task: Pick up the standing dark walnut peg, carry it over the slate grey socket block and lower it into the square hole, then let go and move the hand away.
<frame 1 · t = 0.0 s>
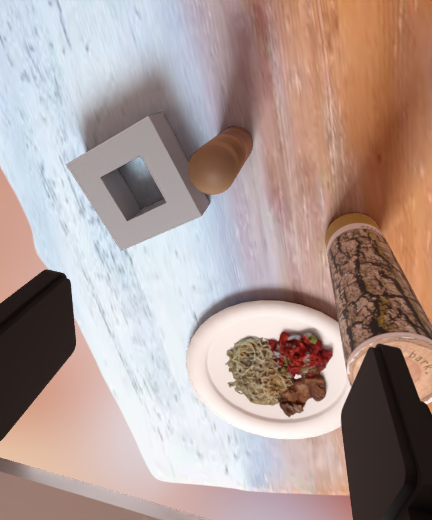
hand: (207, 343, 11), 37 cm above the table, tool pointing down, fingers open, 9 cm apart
plated food: (274, 368, 60), on the table
paper tube: (351, 235, 47), on the table
socket: (147, 179, 49), on the table
peg: (235, 144, 44), on the table
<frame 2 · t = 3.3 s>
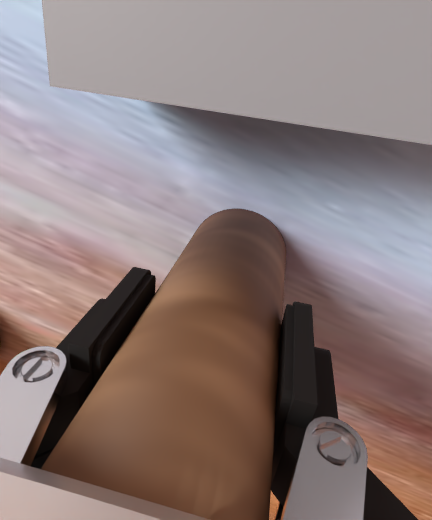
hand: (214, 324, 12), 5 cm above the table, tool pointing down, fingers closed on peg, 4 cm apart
peg: (238, 253, 17), on the table, touching gripper
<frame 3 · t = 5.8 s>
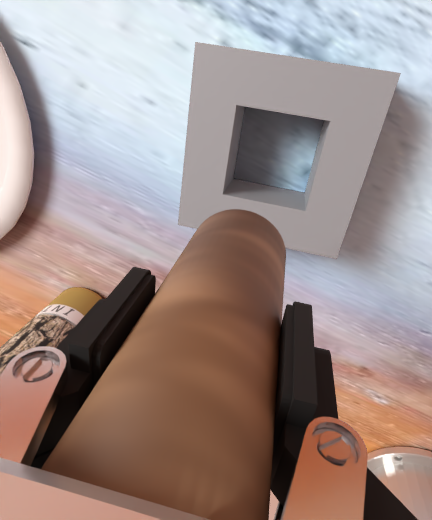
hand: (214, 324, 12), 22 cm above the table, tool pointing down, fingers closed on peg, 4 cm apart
paper tube: (87, 307, 43), on the table
socket: (276, 148, 30), on the table
peg: (237, 254, 17), point 16 cm above the table, touching gripper
when the fingers open (6 cm above the table, at t = 8.7 s): peg stays where it is, resting in socket.
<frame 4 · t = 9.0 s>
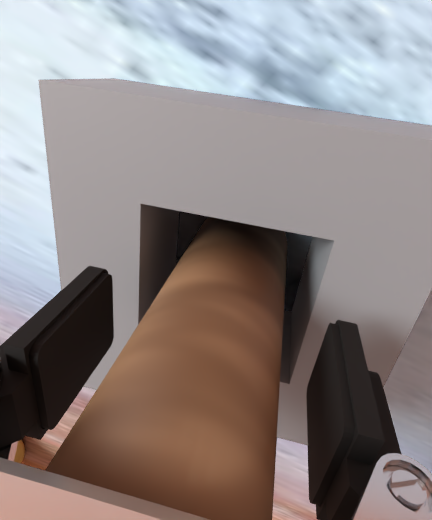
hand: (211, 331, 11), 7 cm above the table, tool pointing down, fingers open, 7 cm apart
socket: (240, 245, 17), on the table
peg: (241, 246, 17), resting in socket
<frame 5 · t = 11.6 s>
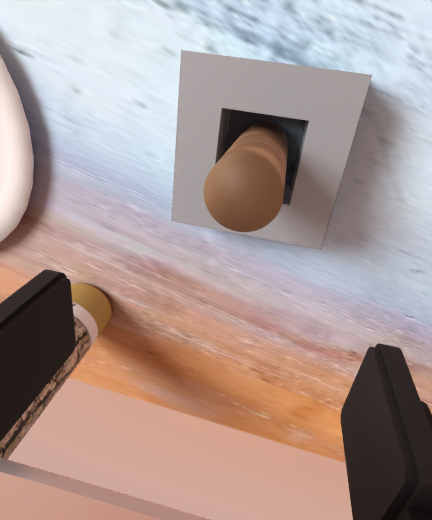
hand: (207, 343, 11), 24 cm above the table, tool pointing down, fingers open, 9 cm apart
paper tube: (89, 302, 44), on the table
socket: (262, 146, 31), on the table
peg: (263, 147, 32), resting in socket
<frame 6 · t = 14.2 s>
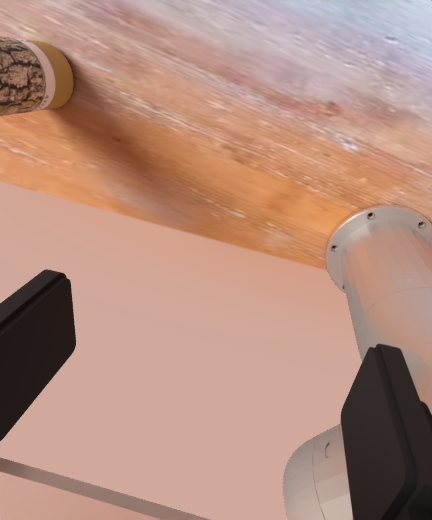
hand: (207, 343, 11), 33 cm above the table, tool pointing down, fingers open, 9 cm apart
paper tube: (50, 76, 41), on the table
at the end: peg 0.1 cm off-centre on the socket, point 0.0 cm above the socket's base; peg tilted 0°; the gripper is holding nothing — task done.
